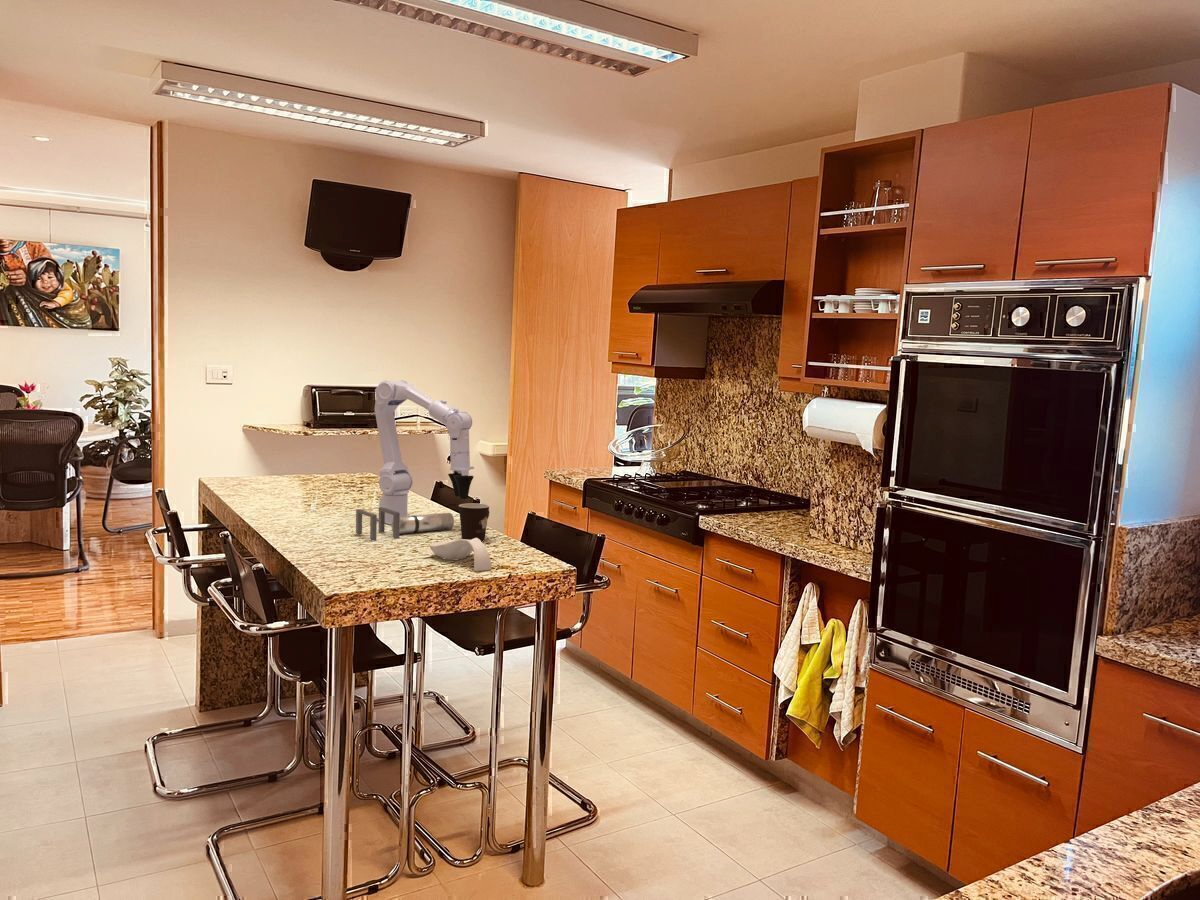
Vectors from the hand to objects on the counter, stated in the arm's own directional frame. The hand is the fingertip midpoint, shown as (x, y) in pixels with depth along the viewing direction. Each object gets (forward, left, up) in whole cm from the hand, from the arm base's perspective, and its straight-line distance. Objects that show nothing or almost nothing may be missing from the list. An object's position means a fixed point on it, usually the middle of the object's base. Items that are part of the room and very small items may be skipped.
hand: (461, 497), depth 270 cm
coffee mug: (+15, -3, -10) cm, 18 cm away
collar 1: (-3, -29, -10) cm, 31 cm away
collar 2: (-3, -22, -10) cm, 24 cm away
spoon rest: (+37, -21, -11) cm, 44 cm away
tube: (-3, -11, -10) cm, 15 cm away
